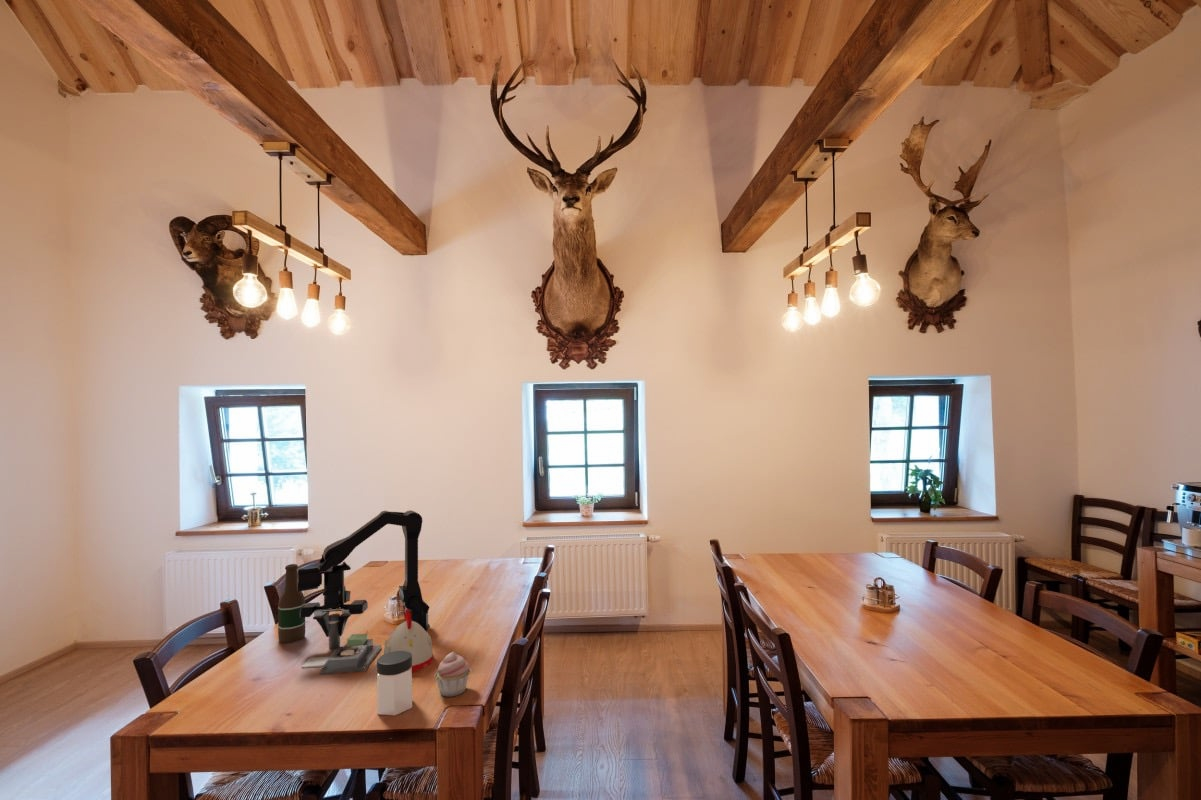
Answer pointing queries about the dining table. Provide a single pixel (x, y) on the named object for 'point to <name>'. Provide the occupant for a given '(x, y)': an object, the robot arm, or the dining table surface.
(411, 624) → the kitchen timer
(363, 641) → the on button
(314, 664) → the pad
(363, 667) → the grey flat framed piece
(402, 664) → the jar
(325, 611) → the robot arm
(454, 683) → the cupcake
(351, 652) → the button
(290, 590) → the beer bottle
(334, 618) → the gray capped cylinder
